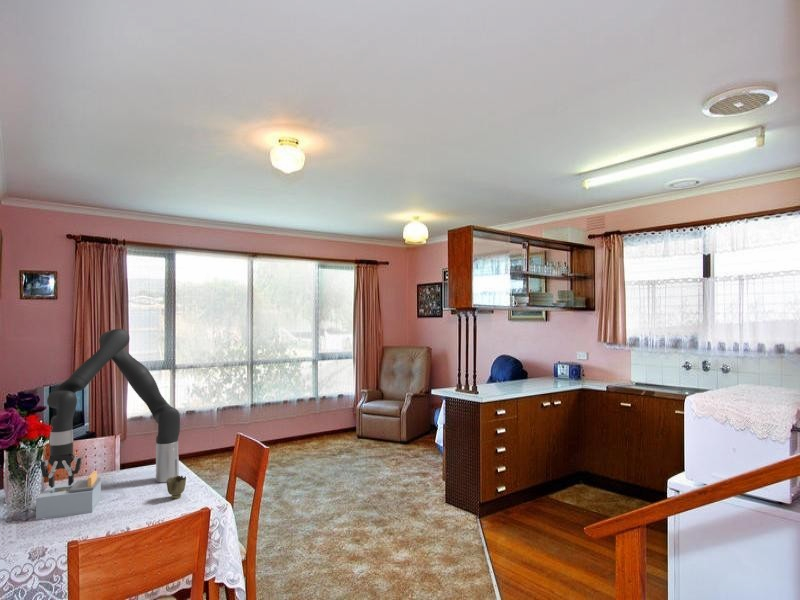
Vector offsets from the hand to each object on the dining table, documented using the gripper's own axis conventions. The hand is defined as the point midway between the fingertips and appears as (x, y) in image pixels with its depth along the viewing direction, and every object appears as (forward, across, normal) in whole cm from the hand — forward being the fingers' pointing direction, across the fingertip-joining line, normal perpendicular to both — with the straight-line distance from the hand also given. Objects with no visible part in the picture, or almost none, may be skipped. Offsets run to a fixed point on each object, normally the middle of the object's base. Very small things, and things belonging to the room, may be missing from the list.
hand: (61, 485), depth 187 cm
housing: (+9, -3, 0) cm, 10 cm away
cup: (+10, -41, +3) cm, 42 cm away
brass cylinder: (+9, 0, 0) cm, 9 cm away
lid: (+1, -8, 0) cm, 8 cm away
